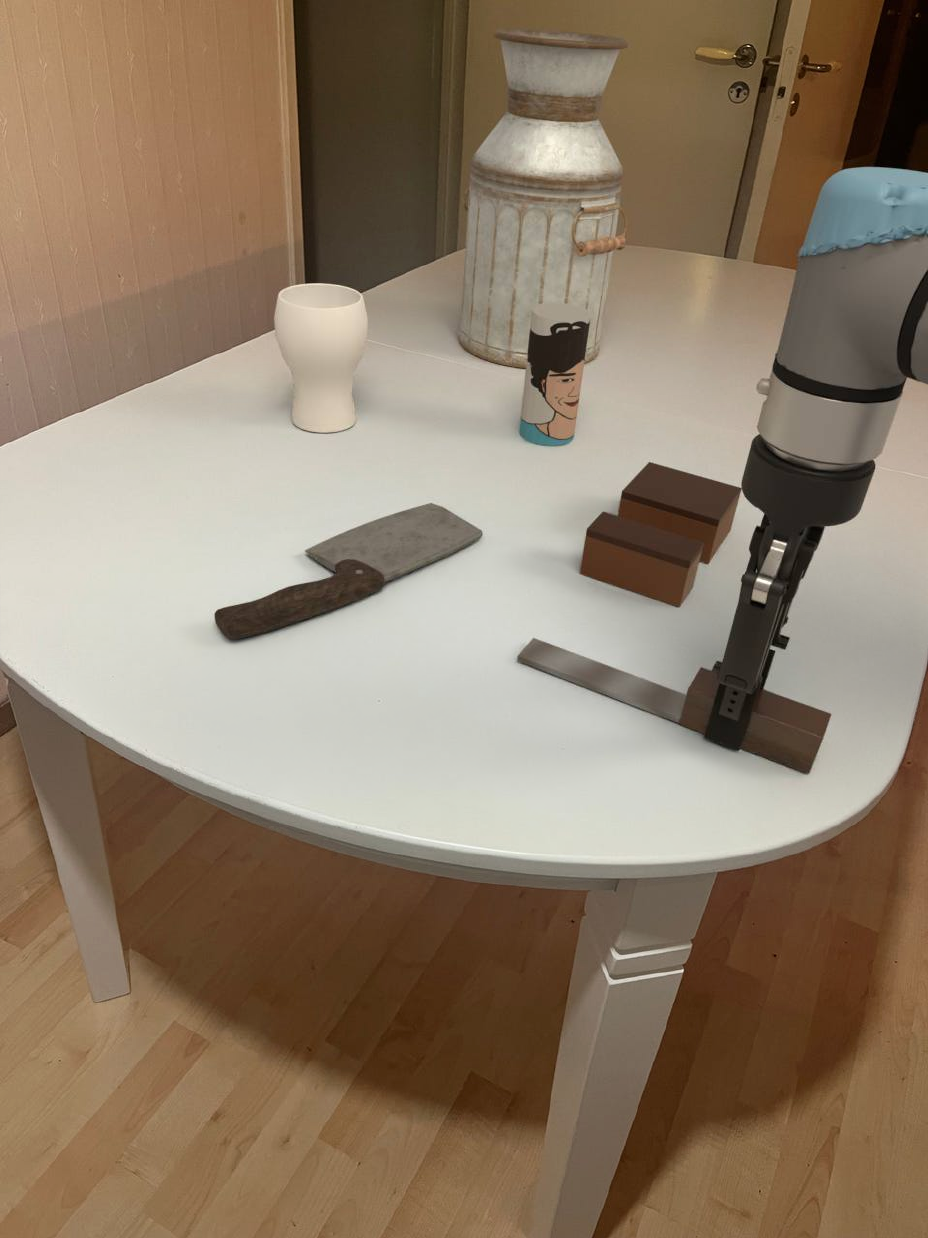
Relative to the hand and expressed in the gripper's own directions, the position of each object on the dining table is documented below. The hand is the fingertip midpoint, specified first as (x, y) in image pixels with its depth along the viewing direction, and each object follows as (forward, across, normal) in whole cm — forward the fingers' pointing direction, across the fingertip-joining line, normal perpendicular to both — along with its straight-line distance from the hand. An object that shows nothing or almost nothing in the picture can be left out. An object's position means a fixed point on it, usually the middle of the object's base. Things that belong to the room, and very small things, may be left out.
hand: (729, 726), depth 71 cm
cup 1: (0, -28, -59) cm, 65 cm away
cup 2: (0, -41, -35) cm, 54 cm away
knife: (0, 0, -6) cm, 6 cm away
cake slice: (0, -16, -14) cm, 21 cm away
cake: (0, -27, -14) cm, 30 cm away
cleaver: (0, -2, -37) cm, 37 cm away
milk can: (0, -69, -51) cm, 86 cm away
